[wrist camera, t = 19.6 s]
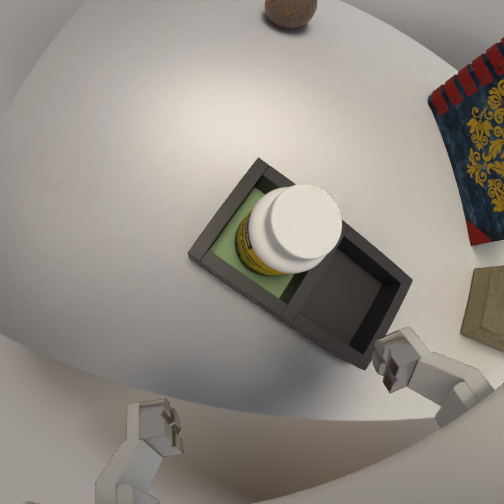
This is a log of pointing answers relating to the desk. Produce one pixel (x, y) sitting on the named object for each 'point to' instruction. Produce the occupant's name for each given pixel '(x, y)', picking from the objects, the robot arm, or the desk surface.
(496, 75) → the book
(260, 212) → the pill bottle
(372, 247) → the holder
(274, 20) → the vase
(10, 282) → the desk surface
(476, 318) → the tissue box
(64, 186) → the desk surface
